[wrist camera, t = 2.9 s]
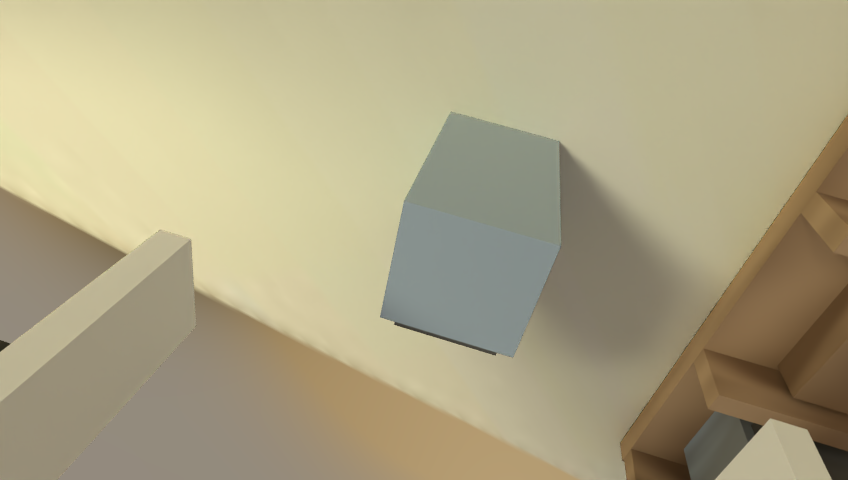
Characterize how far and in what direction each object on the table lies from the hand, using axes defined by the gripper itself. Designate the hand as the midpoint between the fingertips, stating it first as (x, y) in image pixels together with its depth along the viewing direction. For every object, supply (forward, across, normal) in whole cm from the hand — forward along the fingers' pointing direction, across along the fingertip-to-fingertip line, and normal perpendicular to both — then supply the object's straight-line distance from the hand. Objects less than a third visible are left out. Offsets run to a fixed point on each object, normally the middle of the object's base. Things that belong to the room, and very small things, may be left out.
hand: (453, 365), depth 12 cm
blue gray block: (+10, 0, 0) cm, 10 cm away
